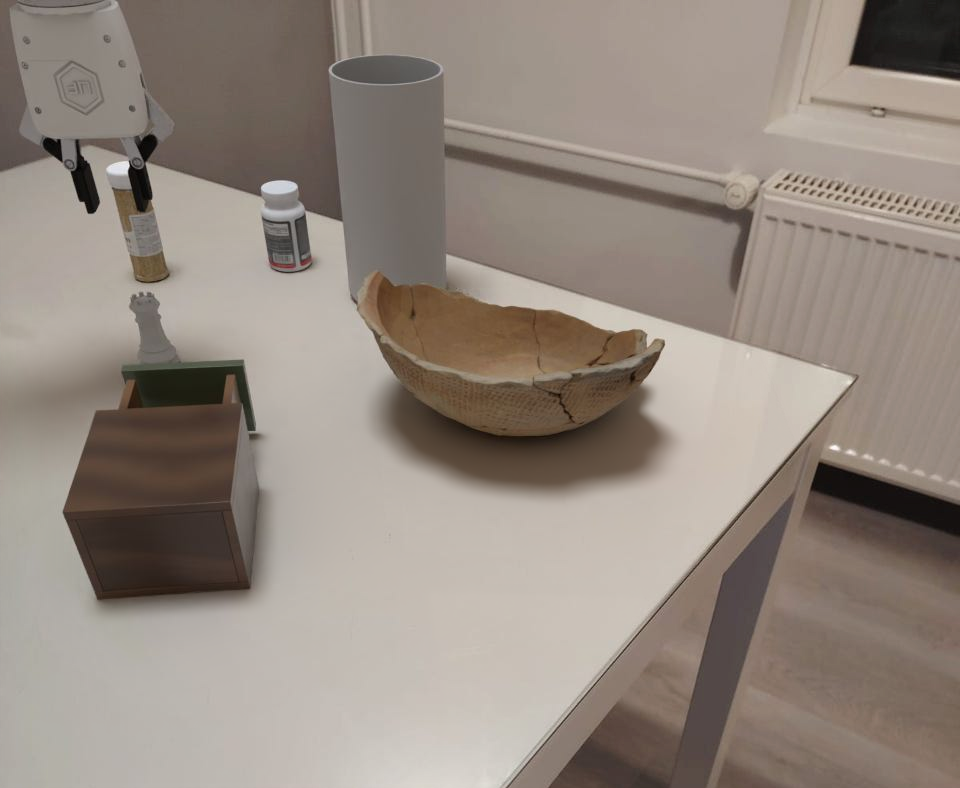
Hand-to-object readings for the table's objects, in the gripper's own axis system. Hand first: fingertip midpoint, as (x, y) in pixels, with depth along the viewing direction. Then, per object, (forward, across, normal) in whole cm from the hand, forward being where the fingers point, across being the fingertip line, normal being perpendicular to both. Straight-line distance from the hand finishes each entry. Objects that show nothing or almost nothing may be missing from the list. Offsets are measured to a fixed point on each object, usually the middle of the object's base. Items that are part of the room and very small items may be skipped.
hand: (118, 206), depth 90 cm
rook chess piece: (+18, 0, 0) cm, 18 cm away
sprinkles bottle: (+18, -4, +24) cm, 30 cm away
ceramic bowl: (+18, +38, -13) cm, 44 cm away
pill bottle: (+18, +14, +26) cm, 34 cm away
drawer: (+16, +6, -19) cm, 26 cm away
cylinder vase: (+18, +28, +16) cm, 37 cm away
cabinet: (+17, +6, -32) cm, 37 cm away
